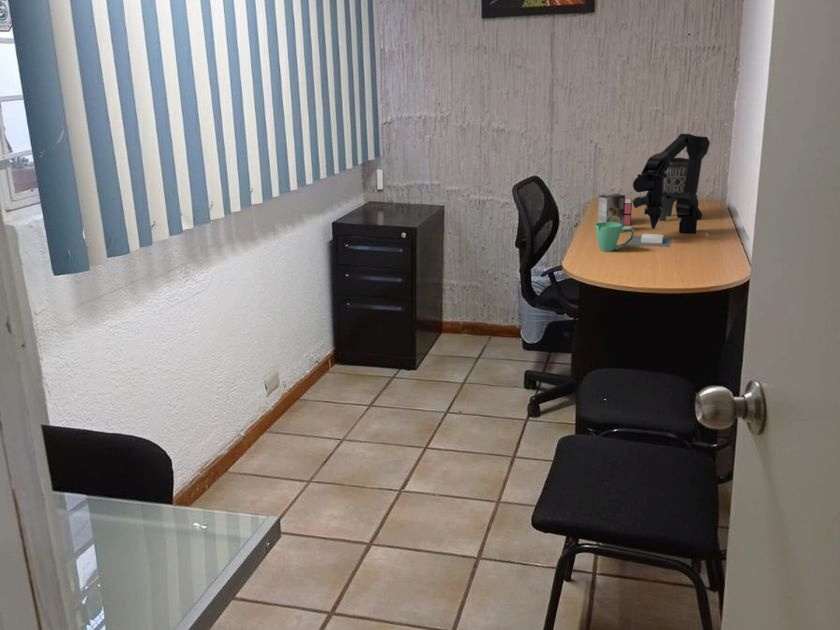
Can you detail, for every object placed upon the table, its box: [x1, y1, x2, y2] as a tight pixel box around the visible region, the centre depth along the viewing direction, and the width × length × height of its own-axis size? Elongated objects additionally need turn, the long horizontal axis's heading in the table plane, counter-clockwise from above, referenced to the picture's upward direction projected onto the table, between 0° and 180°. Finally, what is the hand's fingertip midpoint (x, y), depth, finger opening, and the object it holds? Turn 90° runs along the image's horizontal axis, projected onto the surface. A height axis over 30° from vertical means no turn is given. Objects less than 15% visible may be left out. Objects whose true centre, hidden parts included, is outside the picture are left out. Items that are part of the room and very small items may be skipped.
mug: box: [594, 222, 635, 253], centre depth 311 cm, size 15×10×10 cm
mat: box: [626, 235, 673, 248], centre depth 324 cm, size 16×18×1 cm
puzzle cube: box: [624, 198, 633, 226], centre depth 361 cm, size 10×10×10 cm
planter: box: [658, 157, 702, 222], centre depth 363 cm, size 20×20×26 cm
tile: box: [641, 233, 664, 244], centre depth 323 cm, size 8×2×8 cm
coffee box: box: [597, 193, 626, 233], centre depth 341 cm, size 9×6×16 cm
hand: (653, 228), depth 325 cm, fingers closed
